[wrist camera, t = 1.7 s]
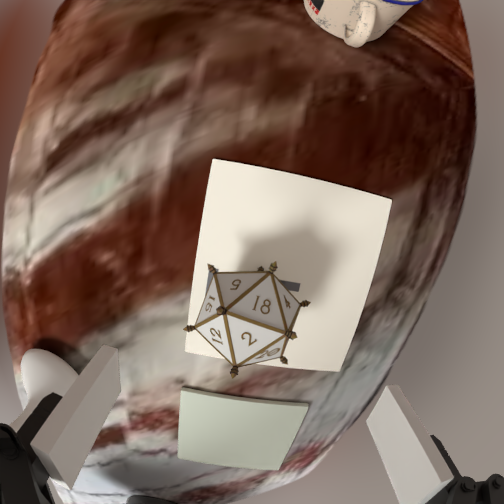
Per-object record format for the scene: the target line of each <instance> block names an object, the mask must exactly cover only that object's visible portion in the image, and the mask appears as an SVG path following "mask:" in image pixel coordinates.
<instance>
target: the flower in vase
mask: <svg viewBox="0 0 504 504" xmlns="http://www.w3.org/2000/svg"><path fill="white" fill-rule="evenodd" d="M21 373H22V379H23V383H24V386H25V389H26V392H27V395H28V404H27V406H26V408H25V409H24V411H23V412H22V414H21V415H20V416H19V417H18V418H17V419H16V420H15V421H14V422H13V423H11V424H10V425H9V426H10V427H12V428H13V430H14V431H15V432H16V433H17V432H18V430H19V429H20V427H21V426H22V425H23V423H24V422H25V421H26V419H27V418H28V417H29V416H30V414H32V412H33V410H34V409H35V408H36V407H37V405H38V404H39V403H40V401H41V400H42V399H43V398H44V397H45V396H47V395H49V394H51V393H52V392H54V393H56V394H58V395H60V396H64V395H65V393H66V392H67V391H68V389H69V388H70V387H71V385H72V384H73V383H74V381H75V380H76V379H77V377H78V376H79V375H78V374H77V373H76V372H75V370H74V369H73V368H72V367H71V366H70V365H69V364H67V363H66V362H65V361H64V360H62V359H61V358H60V357H58V356H57V355H55V354H53V353H51V352H49V351H46V350H42V349H30V350H28V351H26V352H25V354H24V356H23V358H22V361H21Z"/></svg>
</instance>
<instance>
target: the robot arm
mask: <svg viewBox="0 0 504 504" xmlns="http://www.w3.org/2000/svg"><path fill="white" fill-rule="evenodd" d="M120 392H121V384H120V373H119V360H118V349H117V348H114V347H110V346H107V345H104V344H103V345H102V347H101V348H100V349H99V350H98V352H97V353H96V354H95V355H94V357H93V358H92V359H91V361H90V362H89V363H88V364H87V366H86V367H85V368H84V370H83V371H82V372H81V373H80V375H79V376H78V377H77V379H76V380H75V381H74V383H73V384H72V385H71V387H70V388H69V389H68V391H67V392H66V393H65V395H64V396H60V395H58V394H56V393H54V392H52V393H51V394H49V395H47V396H45V397H44V398H43V399H42V400H41V401H40V403H39V404H38V405H37V407H36V408H35V409H34V410H33V412H32V414H30V416H29V417H28V418H27V419H26V421H25V422H24V423H23V425H22V426H21V427H20V429H19V430H18V432H17V433H16V432H15V431H14V430H13V428H12V427H10V426H9V425H7V424H2V423H0V504H55V502H54V499H53V497H52V494H51V491H50V488H49V486H48V483H47V480H48V478H49V476H50V477H51V479H52V480H53V481H54V482H55V483H56V484H58V485H60V486H62V487H64V488H66V489H69V490H71V489H72V487H73V485H74V483H75V481H76V479H77V477H78V475H79V472H80V470H81V468H82V466H83V464H84V462H85V460H86V458H87V456H88V454H89V452H90V450H91V448H92V446H93V444H94V442H95V440H96V438H97V436H98V434H99V432H100V430H101V428H102V426H103V424H104V422H105V420H106V418H107V417H108V415H109V413H110V411H111V409H112V407H113V405H114V403H115V401H116V400H117V398H118V396H119V394H120ZM366 423H367V426H368V428H369V430H370V433H371V435H372V437H373V439H374V442H375V444H376V447H377V449H378V451H379V454H380V456H381V458H382V461H383V463H384V466H385V468H386V471H387V473H388V476H389V478H390V481H391V483H392V485H393V488H394V491H395V493H396V496H397V498H398V501H399V503H400V504H504V478H503V477H502V476H501V475H499V474H493V475H491V476H490V477H489V478H488V479H487V480H486V481H481V482H475V481H474V480H473V479H472V478H470V477H465V476H464V477H462V476H461V475H460V473H459V471H458V470H457V468H456V466H455V465H454V463H453V461H452V460H451V458H450V456H448V453H447V451H446V450H445V448H444V446H443V445H442V443H441V441H440V440H438V439H437V438H436V437H435V436H434V435H429V433H428V432H427V430H426V428H425V427H424V425H423V424H422V422H421V421H420V419H419V417H418V416H417V414H416V412H415V411H414V409H413V408H412V406H411V405H410V403H409V402H408V400H407V398H406V397H405V395H404V394H403V392H402V391H401V389H400V387H399V386H398V385H387V386H386V387H385V389H384V391H383V393H382V395H381V397H380V398H379V400H378V402H377V404H376V405H375V407H374V409H373V410H372V412H371V414H370V416H369V417H368V419H367V420H366ZM126 504H176V503H172V502H169V501H165V500H161V499H157V498H152V497H145V496H132V497H129V498H128V499H127V502H126Z"/></svg>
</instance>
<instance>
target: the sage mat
mask: <svg viewBox="0 0 504 504" xmlns="http://www.w3.org/2000/svg"><path fill="white" fill-rule="evenodd" d="M308 408H309V405H308V403H295V402H281V401H270V400H260V399H252V398H244V397H236V396H229V395H223V394H217V393H211V392H205V391H200V390H195V389H190V388H185V387H182V389H181V397H180V413H179V431H178V457H177V458H178V459H183V460H189V461H194V462H200V463H206V464H212V465H219V466H227V467H236V468H247V469H260V470H279V468H280V466H281V464H282V462H283V460H284V458H285V456H286V454H287V452H288V450H289V448H290V446H291V444H292V442H293V440H294V438H295V436H296V434H297V432H298V430H299V428H300V425H301V423H302V421H303V419H304V417H305V414H306V412H307V410H308Z"/></svg>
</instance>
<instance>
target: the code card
mask: <svg viewBox="0 0 504 504" xmlns="http://www.w3.org/2000/svg"><path fill="white" fill-rule="evenodd" d="M391 203H392V200H391V199H388V198H384V197H381V196H378V195H374V194H371V193H367V192H364V191H360V190H356V189H353V188H349V187H345V186H341V185H338V184H334V183H330V182H326V181H322V180H317V179H313V178H309V177H305V176H300V175H296V174H291V173H287V172H282V171H277V170H272V169H267V168H262V167H257V166H252V165H247V164H241V163H235V162H230V161H224V160H218V159H213V161H212V166H211V171H210V176H209V182H208V187H207V193H206V199H205V204H204V210H203V216H202V222H201V229H200V235H199V241H198V248H197V255H196V262H195V269H194V276H193V284H192V292H191V300H190V308H189V316H188V326H189V325H193V326H194V325H195V323H196V320H197V317H198V315H199V312H200V309H201V306H202V304H203V301H204V298H205V296H206V293H207V290H208V288H209V285H210V282H211V280H212V277H213V274H212V273H210V271H209V270H208V264H210V265H214V268H216V271H217V272H240V271H257V270H258V269H257V268H259V267H261V266H262V267H263V268H264V271H269V267H270V264H271V263H274V262H275V261H276V262H277V267H278V268H277V269H276V271H275V272H274V275H275V276H276V277H277V278H278V279H279V280H280V281H281V282H282V283H283V285H284V286H285V287H286V288H287V289H288V290H289V291H290V292H291V294H292V295H293V296H294V297H295V298H296V299H297V300H298V301H299V302H300V303H301V302H302V301H305V300H307V301H309V302H311V303H310V304H309V305H308V307H307V306H305V307H301V308H300V311H299V314H298V316H297V319H296V322H295V325H294V327H293V330H292V331H293V332H296V335H297V337H298V338H295V339H293V340H291V339H289V341H288V343H287V346H286V348H285V351H284V354H283V356H285V357H286V358H287V359H288V365H287V364H282V362H280V358H277V359H272V360H268V361H264V362H260V363H256V364H262V365H270V366H278V367H287V368H297V369H308V370H321V371H337V372H340V369H341V367H342V364H343V362H344V359H345V357H346V354H347V352H348V349H349V347H350V344H351V341H352V339H353V336H354V333H355V330H356V328H357V325H358V322H359V319H360V316H361V313H362V310H363V307H364V304H365V301H366V298H367V295H368V292H369V289H370V285H371V282H372V279H373V275H374V272H375V268H376V265H377V261H378V258H379V254H380V250H381V246H382V242H383V238H384V234H385V230H386V226H387V221H388V217H389V212H390V208H391ZM207 263H208V264H207ZM185 352H190V353H195V354H200V355H205V356H210V357H216V358H222V359H225V358H224V357H223V356H222V355H221V354H220V353H219V352H217V351H216V350H215V349H214V348H213V347H212V346H211V345H210V344H209V343H208V342H207V341H206V340H205V339H204V338H203V337H202V336H201V335H200V334H199V333H198V332H197V331H196V330H193V331H192V332H191V331H190V332H188V331H187V335H186V344H185Z"/></svg>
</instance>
